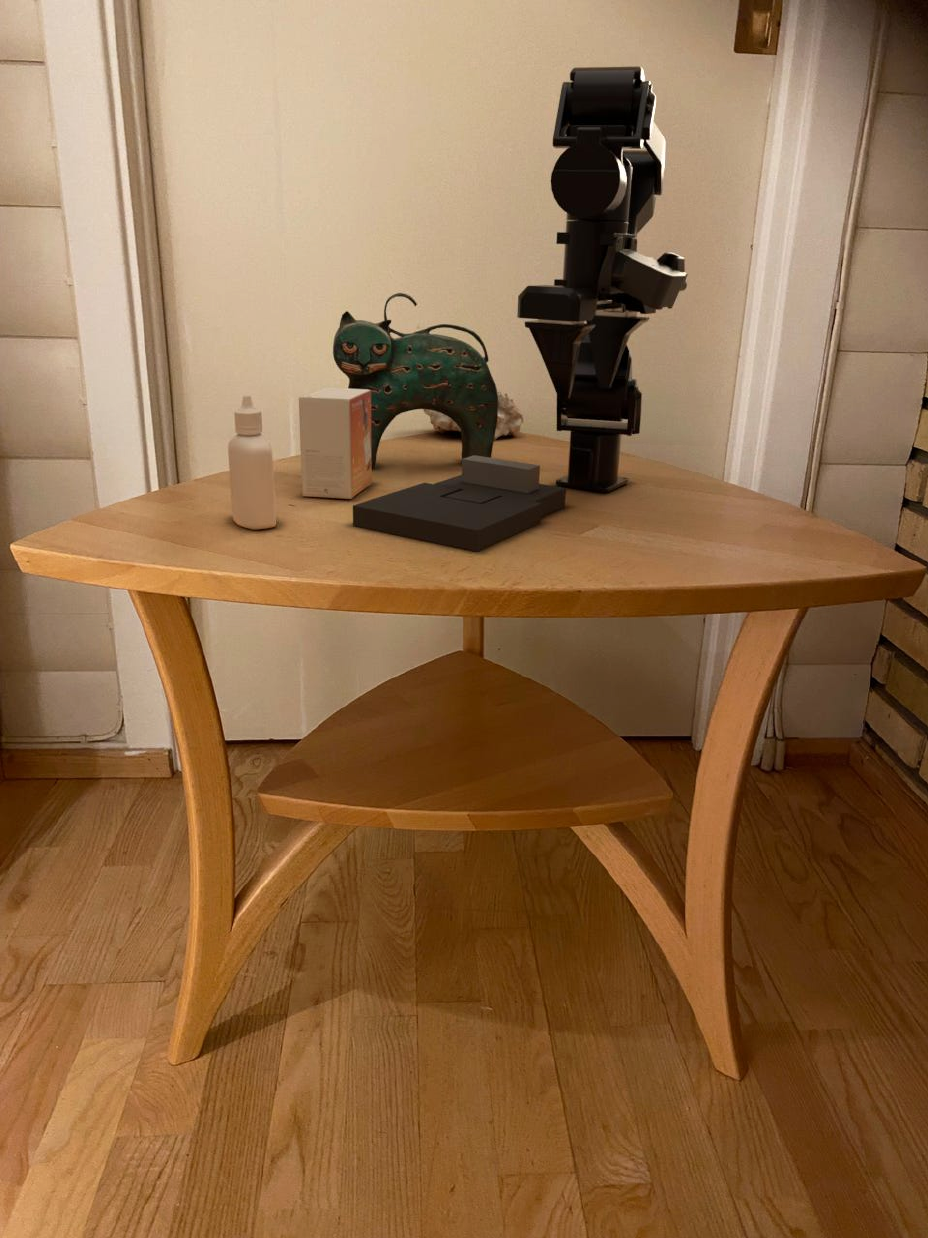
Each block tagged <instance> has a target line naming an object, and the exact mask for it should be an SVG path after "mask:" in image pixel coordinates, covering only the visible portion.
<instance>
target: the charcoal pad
mask: <svg viewBox="0 0 928 1238" xmlns="http://www.w3.org/2000/svg"><path fill="white" fill-rule="evenodd" d="M459 491H460V489H458V488H453V487H447V486H441V485H435V483H429V482H422V483H419V484H416V485H413V486H409V487H406V488H403V489H400V490H396V491H393V492H391V493H387V494H385V495H381V496H378V497H375V498H371V499H369V500H365V501H362V502H360V503H357V504H353V505H352V526H354V527H359V528H363V529H368V530H372V531H378V532H382V533H386V534H391V535H396V536H400V537H404V538H405V537H406V538H410V539H415V540H420V541H424V542H429V543H433V544H438V545H442V546H446V547H447V546H448V547H452V548H457V549H461V550H467V551H471V552H476V553H477V552H480V551H482V550H484V549H486V548H488V547H490V546H493V545H495V544H498V543H500V542H501V541H503V540H506V539H508V538H510V537H512V536H514V535H517V534H520V533H521V532H523V531H525V530H528V529H530V528H532V527H534V526H537V525H539V524H540V523H541V522H542V517H541V509H542V503H538V502H533V501H527V500H521V499H516V498H510V497H504V496H502V497H499V498H497V499H494V500H491V501H489V502H486V503H484V504H478V503H472V502H467V501H461V500H456V499H450V498H445V496H447V495H450V494H453V493H456V492H459Z"/></svg>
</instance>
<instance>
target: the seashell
mask: <svg viewBox="0 0 928 1238" xmlns="http://www.w3.org/2000/svg"><path fill="white" fill-rule="evenodd" d="M497 393H498V419H497V427H496V430H495V437H494V441H495V440H497V439H498V438H500V437H502V436H505V437H507V435H510V436H511V437H517V435H518V434H519V433H520V432H521V426H522V424H524V416H523V413H522V412H521V411H520V409H519V408H518V407H517V404H515V402H514V399H513V398H512V399H510V398H509V396H508V393H505V394H503V393H502V392H501V391H499V390H498V391H497ZM422 411H423V412H424V414H425V415H427V416H428V417H429V419H430V424H431V425H432V426H433V430H435V431H436V432H438V433H441V434H445V433H446V431H447V432H448V431H449V432H451V431H456V432H459V433H461V429H460V427H459V426H458V425H457V424H456V423H455V422H454V421H453V420H452V419H451V418H449V417H448V416H446V415H444V414H442V413H440V412H437V411H433V410H428V409H422Z"/></svg>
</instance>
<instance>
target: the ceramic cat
mask: <svg viewBox="0 0 928 1238" xmlns="http://www.w3.org/2000/svg"><path fill="white" fill-rule="evenodd" d="M396 297H397V298H398V297H402V298H406V299H408V300H409V301H410V302H411V303H412V304H413V306H414V307H416V306H417V305H418V304H417V301H416V300H415V299H414V298H413V296H411V295H409V294H407V293H403V292H397V293H394V294H392V295H390V296H389V297H388V298H387V299H386V301H385V304H384V307H383V320H381V321H379V322H376V323H375V322H372V321H369V320H363V319H356V318H354V317H353V315H352V314H351V313H350V312H349V311H348V310H346V311H345V312H344V313H342V315H341V318H340V321H339V326H338V328H337V330H336V332H335V334H334V338H333V345H332V356H333V360H334V362H335V364H336V366H337V368H338V369H339V370H340V371H341V372H342V373H343V374H344V375H345V376H346V377H347V378H348V381H349V382H348V387H347V388H348V389H366V390H371V468H372V470H373V469H375V468H376V465H377V455H378V450H379V446H380V443H381V439H382V437H383V434H384V433H385V431H386V430H387V427H389V425H390V424H391V423H392V422H393V420H395V418H396V417H397V416H399V415H400V414H402V413H407V412H410V411H415V410H423V409H428V410H433V411H437V412H440V413H442V414H444V415H446V416H448V417H449V418H451V419H452V420H453V421H454V422H455V423H456V424H457V425H458V426H459V427H460V429H461V432H460V435H461V436H460V437H461V460H462V459H464V458H467V457H470V456H473V455H476V456H482V457H489V458H492V455H493V454H492V453H493V448H494V441H495V440H494V437H495V430H496V427H497V419H498V393H497V392H498V389H497V385H496V381H495V380H494V377H493V375H492V373H491V370H490V367H489V365H488V362H489V361H490V360H489V355H488V350H487V347H486V345H485V343H484V341H483V340H482V338H481V336H479V335H478V334H477V333H476V332H475V331H474V330H472V329H469V328H467V327H464V326H460V325H457V324H448V323H441V324H436V325H432V326H428V327H427V328H424V329H420V330H415V331H414V332H412V333H403V332H400V331H397V330H396V329H394V328H391V327H390V325H391V323H392V319H388V317H387V307H388V303H389V302H390V301H391V300H392V299H395V298H396ZM443 328H445V329H453V330H456V331H460V332H464V333H467V334H469V335H471V336H472V337H473V338H474V339H475V340H476V341H477V342H478V343H479V344H480V346H481V348H482V350H483V354H484V356H482V354H481V353H480V352H479V351H478V350H477V349H476V348H475V347H474V346H472V345H471V344H469V343H467V342H466V341H463V340H461V339H458V338H456V337H452V336H450V335H449V336H448V335H443V334H439V333H430V332H431V331H434V330H436V329H443ZM392 334H395V335H397V336H398V337H395V338H394V337H393V336H392Z"/></svg>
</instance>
